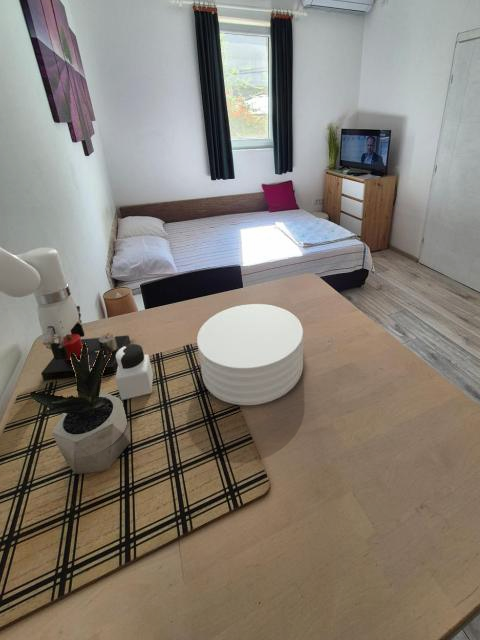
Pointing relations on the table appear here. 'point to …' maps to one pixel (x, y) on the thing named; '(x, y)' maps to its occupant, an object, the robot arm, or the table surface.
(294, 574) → the table surface
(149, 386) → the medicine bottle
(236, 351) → the plate stack
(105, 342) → the hob knob
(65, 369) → the hob
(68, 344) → the pepper
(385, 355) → the table surface
